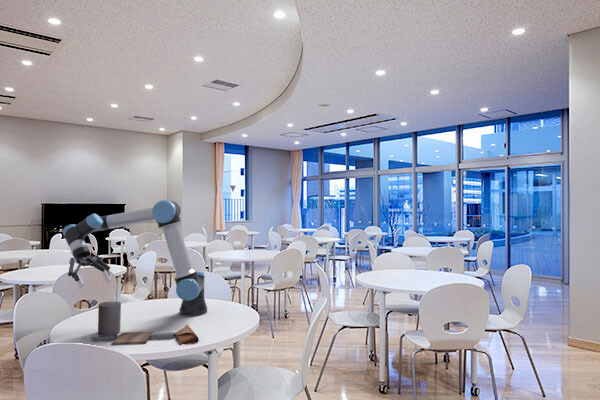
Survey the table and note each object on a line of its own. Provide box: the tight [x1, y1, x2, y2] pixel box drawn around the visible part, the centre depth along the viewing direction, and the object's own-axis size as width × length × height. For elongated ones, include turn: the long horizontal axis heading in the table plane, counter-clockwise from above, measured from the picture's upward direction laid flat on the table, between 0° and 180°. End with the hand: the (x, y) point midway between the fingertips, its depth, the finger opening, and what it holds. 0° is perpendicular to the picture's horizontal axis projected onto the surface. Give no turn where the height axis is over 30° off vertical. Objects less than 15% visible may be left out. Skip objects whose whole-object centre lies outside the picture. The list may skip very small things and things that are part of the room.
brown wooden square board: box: [111, 331, 155, 346], centre depth 181 cm, size 14×14×1 cm
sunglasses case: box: [174, 324, 200, 346], centre depth 182 cm, size 18×7×7 cm
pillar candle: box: [97, 300, 122, 335], centre depth 190 cm, size 10×10×15 cm
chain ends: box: [90, 331, 176, 342], centre depth 181 cm, size 35×3×2 cm, turn 97°
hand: (96, 283), depth 196 cm, fingers open, 13 cm apart
